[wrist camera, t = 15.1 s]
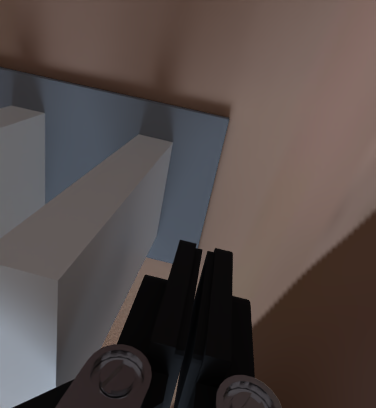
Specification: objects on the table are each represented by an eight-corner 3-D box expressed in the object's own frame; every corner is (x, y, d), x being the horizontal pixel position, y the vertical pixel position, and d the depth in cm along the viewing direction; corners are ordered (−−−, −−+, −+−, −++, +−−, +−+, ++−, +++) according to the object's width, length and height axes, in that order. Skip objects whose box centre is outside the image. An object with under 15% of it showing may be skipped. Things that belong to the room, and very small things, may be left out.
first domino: (173, 142, 15) (58, 280, 6) (156, 235, 17) (54, 440, 8) (138, 134, 15) (-26, 257, 6) (126, 228, 17) (-7, 421, 8)
